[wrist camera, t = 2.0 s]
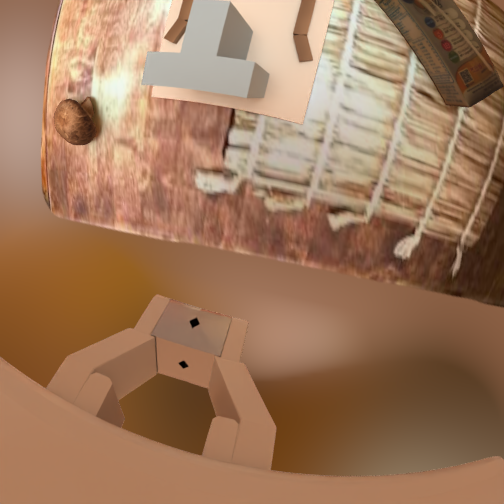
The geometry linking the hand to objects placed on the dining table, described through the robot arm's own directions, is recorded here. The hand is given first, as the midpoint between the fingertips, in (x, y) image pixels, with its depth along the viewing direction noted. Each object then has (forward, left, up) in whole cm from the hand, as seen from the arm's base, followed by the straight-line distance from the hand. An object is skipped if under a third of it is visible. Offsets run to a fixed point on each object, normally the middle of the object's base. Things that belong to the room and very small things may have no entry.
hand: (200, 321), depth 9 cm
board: (+7, -14, -29) cm, 33 cm away
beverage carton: (-15, -22, -30) cm, 40 cm away
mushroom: (+28, 0, -29) cm, 41 cm away
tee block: (+7, -10, -28) cm, 31 cm away
